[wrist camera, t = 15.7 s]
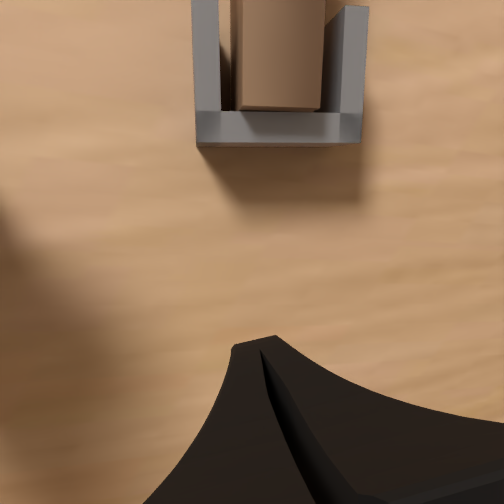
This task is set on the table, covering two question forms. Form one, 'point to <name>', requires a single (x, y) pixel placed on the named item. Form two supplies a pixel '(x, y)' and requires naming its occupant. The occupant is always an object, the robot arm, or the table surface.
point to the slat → (276, 55)
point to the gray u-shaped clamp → (283, 123)
